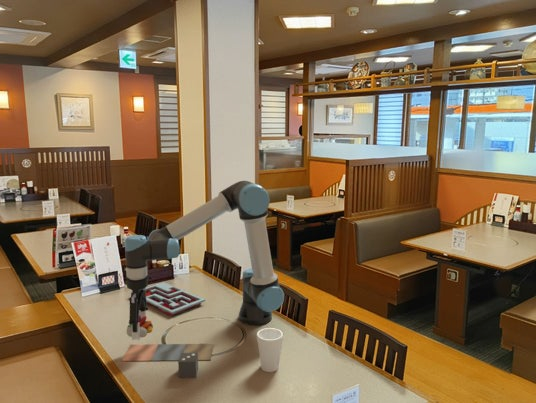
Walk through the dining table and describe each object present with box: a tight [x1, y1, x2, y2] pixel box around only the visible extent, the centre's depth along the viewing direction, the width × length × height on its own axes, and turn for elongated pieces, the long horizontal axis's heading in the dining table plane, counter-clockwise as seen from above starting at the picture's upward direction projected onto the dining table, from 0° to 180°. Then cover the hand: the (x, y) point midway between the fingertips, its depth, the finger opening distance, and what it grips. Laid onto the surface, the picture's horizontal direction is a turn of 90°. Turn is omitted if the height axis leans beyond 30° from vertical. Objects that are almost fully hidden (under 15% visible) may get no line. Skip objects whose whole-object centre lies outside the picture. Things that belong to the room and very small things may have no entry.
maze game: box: [130, 281, 206, 317], centre depth 215 cm, size 35×20×3 cm, turn 49°
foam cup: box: [256, 327, 284, 373], centre depth 156 cm, size 10×9×13 cm
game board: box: [121, 343, 215, 362], centre depth 167 cm, size 33×12×1 cm, turn 92°
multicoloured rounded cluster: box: [126, 315, 154, 338], centre depth 164 cm, size 8×10×7 cm
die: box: [177, 353, 199, 379], centre depth 153 cm, size 6×6×6 cm
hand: (139, 332), depth 165 cm, fingers closed on multicoloured rounded cluster, 9 cm apart
